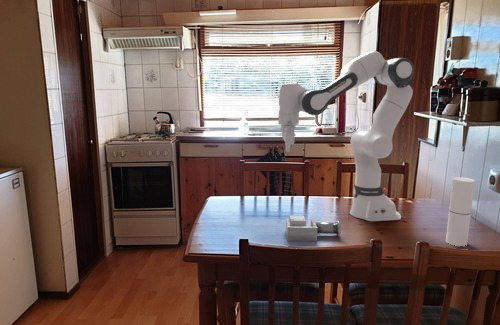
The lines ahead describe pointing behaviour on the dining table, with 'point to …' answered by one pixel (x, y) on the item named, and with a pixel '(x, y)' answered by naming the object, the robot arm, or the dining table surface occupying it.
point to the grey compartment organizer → (311, 230)
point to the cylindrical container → (460, 211)
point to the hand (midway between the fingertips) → (287, 151)
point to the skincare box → (297, 221)
